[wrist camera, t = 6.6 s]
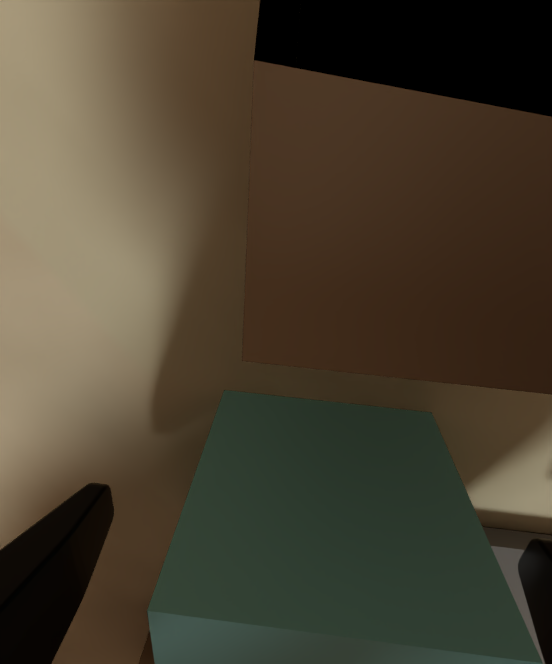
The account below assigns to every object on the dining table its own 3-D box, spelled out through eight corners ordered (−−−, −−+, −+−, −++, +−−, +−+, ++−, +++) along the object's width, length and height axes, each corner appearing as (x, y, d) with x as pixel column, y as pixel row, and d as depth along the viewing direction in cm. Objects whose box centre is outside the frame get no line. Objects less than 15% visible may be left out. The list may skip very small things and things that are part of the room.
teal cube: (223, 523, 10) (168, 760, 6) (224, 387, 8) (147, 610, 4) (387, 542, 10) (437, 799, 6) (430, 410, 8) (542, 663, 4)
